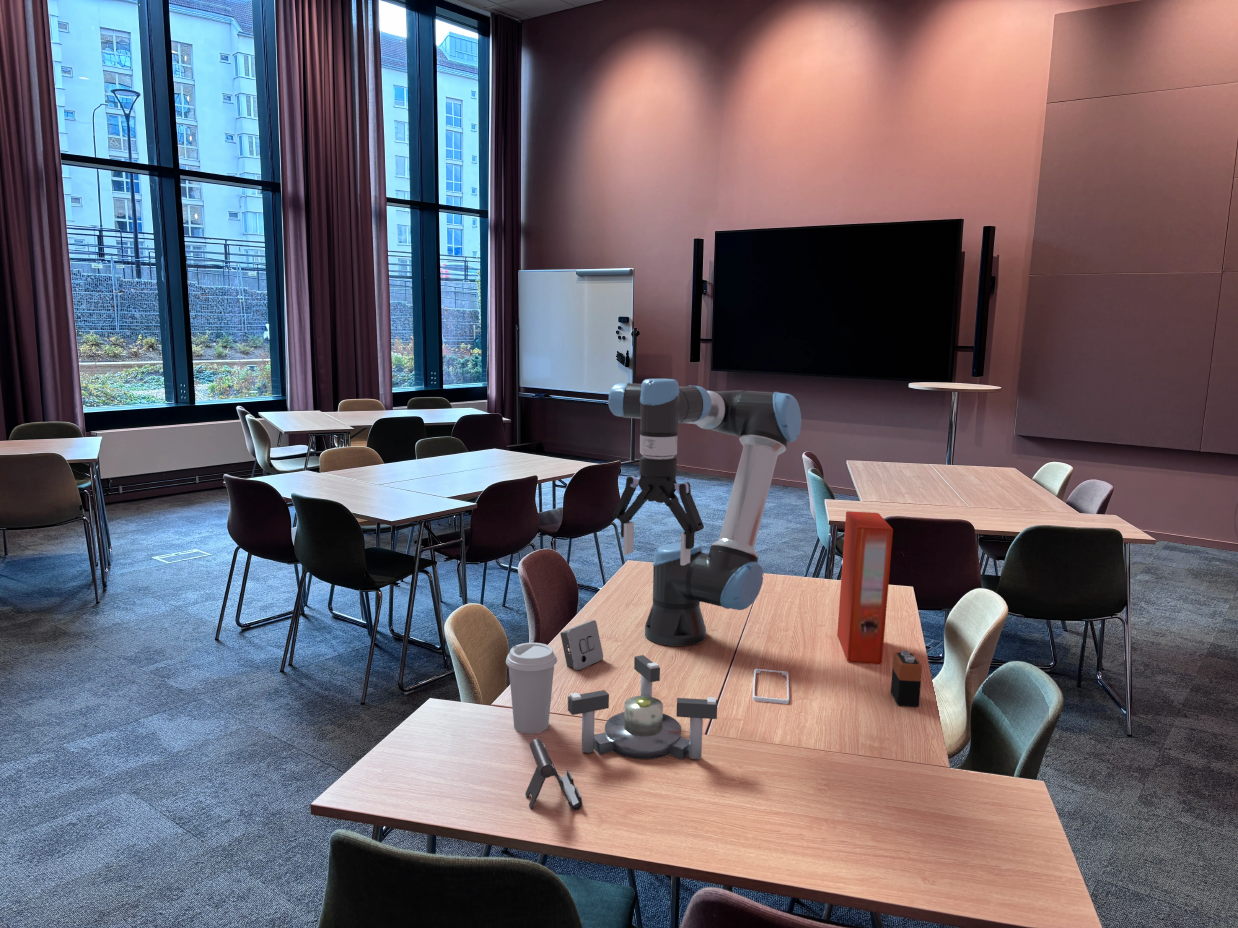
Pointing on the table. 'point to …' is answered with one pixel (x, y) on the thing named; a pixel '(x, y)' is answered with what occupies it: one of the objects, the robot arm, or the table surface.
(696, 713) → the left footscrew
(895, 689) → the battery
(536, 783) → the portable electronic device stand
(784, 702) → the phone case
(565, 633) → the electrical switch
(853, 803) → the table surface
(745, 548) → the robot arm
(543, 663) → the coffee cup
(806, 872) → the table surface
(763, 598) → the table surface
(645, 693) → the foot screw
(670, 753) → the levelling base
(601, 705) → the foot screw
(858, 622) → the file binder
